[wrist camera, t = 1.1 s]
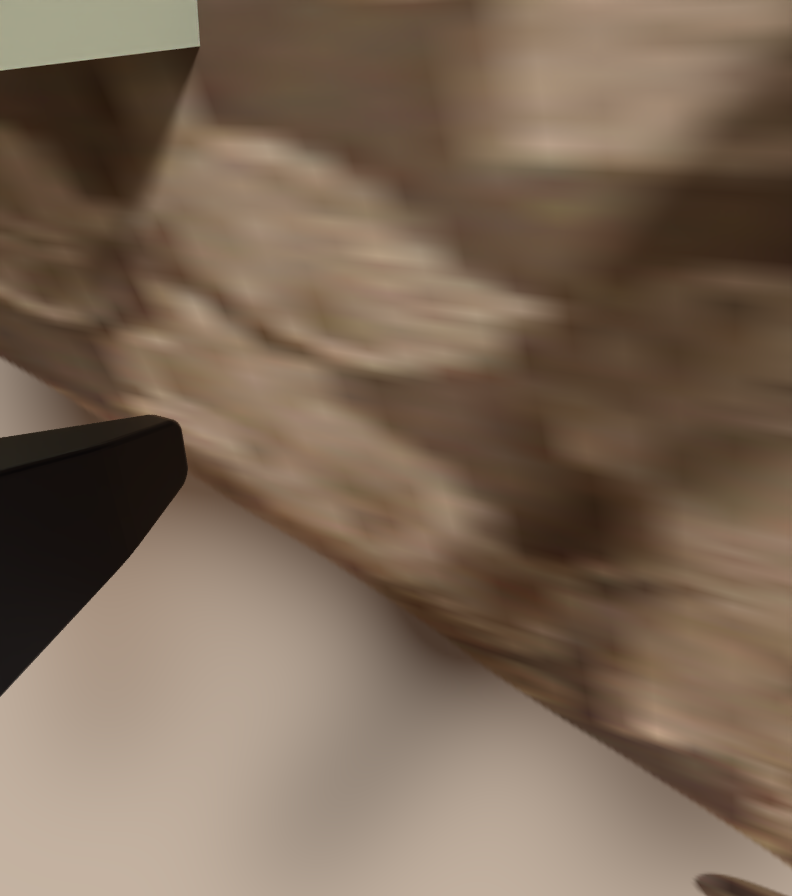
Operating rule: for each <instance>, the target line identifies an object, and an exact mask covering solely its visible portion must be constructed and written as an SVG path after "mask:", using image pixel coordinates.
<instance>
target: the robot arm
mask: <svg viewBox="0 0 792 896" xmlns="http://www.w3.org/2000/svg"><path fill="white" fill-rule="evenodd" d="M187 471H188V465H187V459H186V453H185V447H184V441H183V435H182V430H181V427H180V425H179V424H178V422H176V421H175V420H172V419H169V418H165V417H161V416H157V415H144V416H137V417H131V418H125V419H118V420H112V421H105V422H99V423H92V424H86V425H81V426H73V427H67V428H60V429H54V430H47V431H41V432H35V433H28V434H22V435H16V436H9V437H2V438H0V696H1V695H2V694H3V693H4V692H5V691H6V690H7V689H8V688H9V687H10V686H11V685H12V684H13V683H14V681H15V680H16V679H17V678H18V677H19V676H20V675H21V674H22V673H23V672H24V671H25V670H26V669H27V667H28V666H29V665H30V664H31V663H32V662H33V661H34V660H35V659H36V658H37V657H38V656H39V655H40V653H41V652H42V651H43V650H44V649H45V648H46V647H47V646H48V645H49V644H50V643H51V641H52V640H53V639H54V638H55V637H56V636H57V635H58V634H59V633H60V632H61V631H62V630H63V629H64V628H65V627H66V625H67V624H68V623H69V622H70V621H71V620H72V619H73V618H74V617H75V616H76V615H77V614H78V613H79V611H80V610H81V609H82V608H83V607H84V606H85V605H86V604H87V603H88V602H89V601H90V600H91V598H92V597H93V596H94V595H95V594H96V593H97V592H98V591H99V590H100V589H101V588H102V587H103V585H104V584H105V583H106V582H107V581H108V580H109V579H110V578H111V577H112V576H113V575H114V574H115V573H116V572H117V570H118V569H119V568H120V567H121V566H122V565H123V563H125V561H126V560H127V559H128V558H129V557H130V555H131V554H132V553H133V552H134V550H135V549H136V548H137V547H138V545H139V544H140V543H141V541H142V540H143V539H144V537H145V536H146V535H147V533H148V532H149V531H150V529H151V528H152V526H153V525H154V524H155V523H156V521H157V520H158V518H159V517H160V516H161V514H162V513H163V512H164V510H165V509H166V508H167V506H168V505H169V503H170V502H171V501H172V500H173V498H174V497H175V496H176V494H177V493H178V491H179V490H180V488H181V487H182V486H183V484H184V482H185V479H186V476H187Z"/></svg>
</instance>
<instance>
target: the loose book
mask: <svg viewBox="0 0 792 896" xmlns="http://www.w3.org/2000/svg"><path fill="white" fill-rule="evenodd" d="M198 46H200V39H199V24H198V9H197V0H0V71H1V70H9V69H18V68H26V67H34V66H42V65H50V64H59V63H67V62H75V61H83V60H91V59H99V58H108V57H116V56H124V55H132V54H140V53H149V52H157V51H165V50H173V49H181V48H189V47H198Z"/></svg>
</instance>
